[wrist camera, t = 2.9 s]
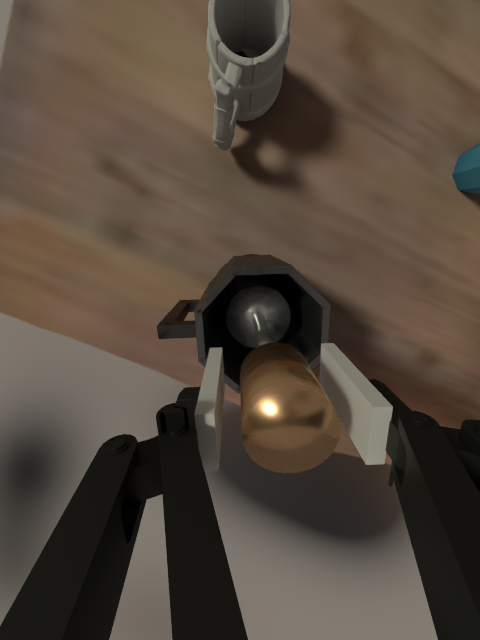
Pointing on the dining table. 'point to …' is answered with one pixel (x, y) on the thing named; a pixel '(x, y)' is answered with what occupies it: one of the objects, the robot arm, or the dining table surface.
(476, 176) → the cup
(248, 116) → the mug
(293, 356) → the plunger
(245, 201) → the dining table surface
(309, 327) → the press body
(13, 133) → the dining table surface
